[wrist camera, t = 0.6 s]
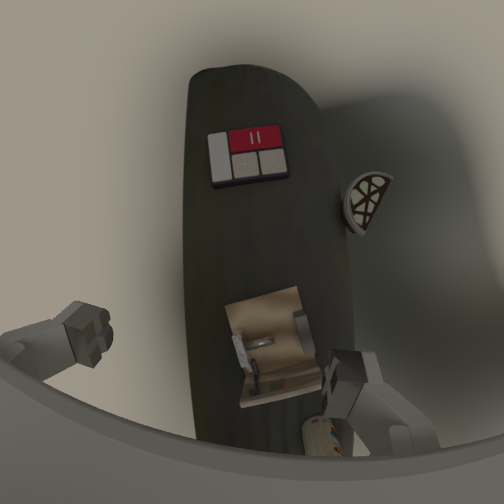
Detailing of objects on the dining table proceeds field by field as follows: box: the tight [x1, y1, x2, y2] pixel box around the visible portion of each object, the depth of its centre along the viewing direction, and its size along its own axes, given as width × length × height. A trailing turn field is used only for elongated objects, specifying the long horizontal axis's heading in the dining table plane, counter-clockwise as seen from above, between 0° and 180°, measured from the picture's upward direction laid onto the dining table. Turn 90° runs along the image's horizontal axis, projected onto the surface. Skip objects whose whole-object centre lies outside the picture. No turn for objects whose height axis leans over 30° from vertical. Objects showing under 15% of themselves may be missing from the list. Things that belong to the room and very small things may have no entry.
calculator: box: [206, 124, 289, 189], centre depth 56 cm, size 11×4×15 cm
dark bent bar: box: [249, 359, 259, 395], centre depth 49 cm, size 3×2×10 cm, turn 16°
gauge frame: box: [225, 286, 323, 408], centre depth 50 cm, size 16×14×14 cm
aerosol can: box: [302, 414, 344, 457], centre depth 45 cm, size 7×7×20 cm
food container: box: [340, 172, 393, 236], centre depth 51 cm, size 12×6×10 cm, turn 149°
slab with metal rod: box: [232, 328, 275, 372], centre depth 52 cm, size 8×7×5 cm
